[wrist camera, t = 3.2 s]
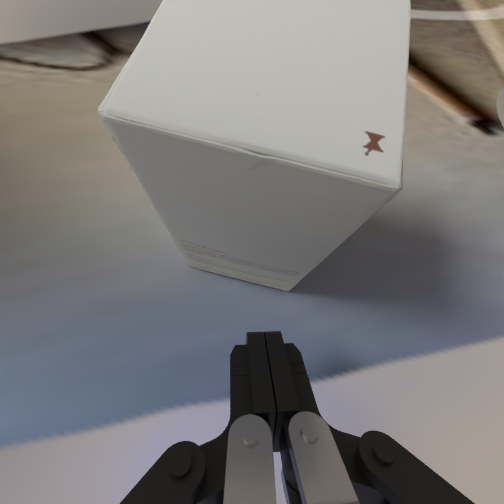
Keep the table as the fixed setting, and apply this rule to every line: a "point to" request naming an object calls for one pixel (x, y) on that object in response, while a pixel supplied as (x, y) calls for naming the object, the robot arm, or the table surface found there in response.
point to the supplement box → (265, 127)
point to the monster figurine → (501, 105)
